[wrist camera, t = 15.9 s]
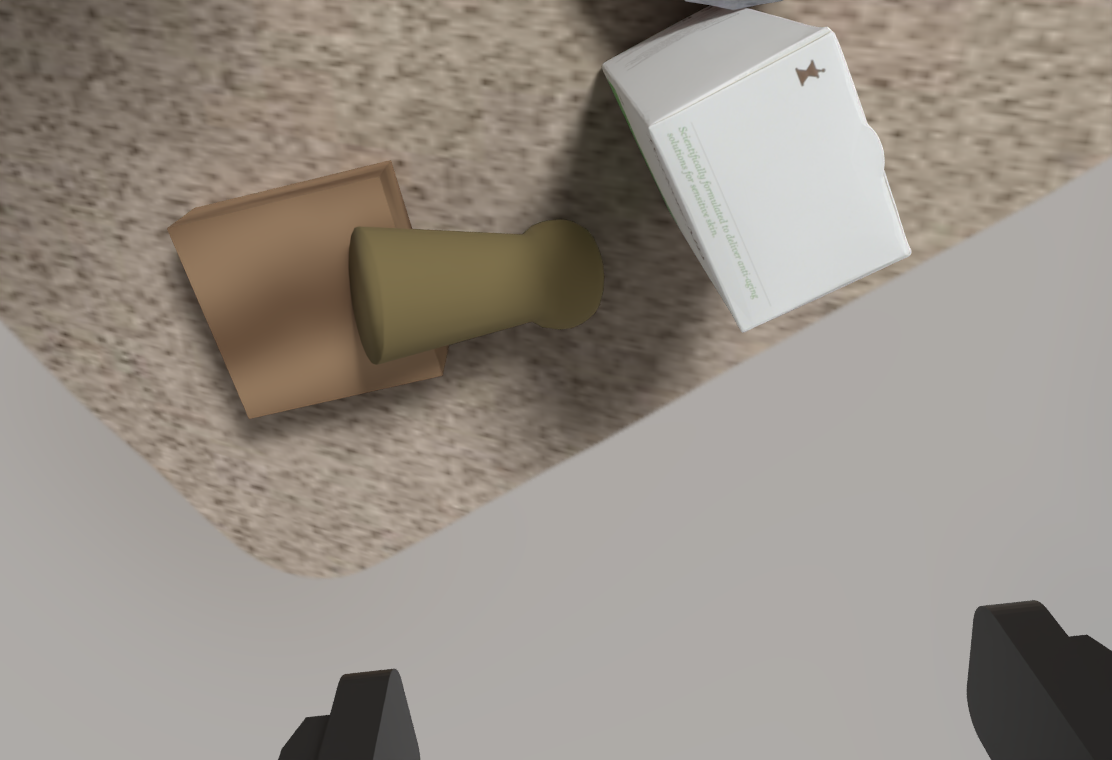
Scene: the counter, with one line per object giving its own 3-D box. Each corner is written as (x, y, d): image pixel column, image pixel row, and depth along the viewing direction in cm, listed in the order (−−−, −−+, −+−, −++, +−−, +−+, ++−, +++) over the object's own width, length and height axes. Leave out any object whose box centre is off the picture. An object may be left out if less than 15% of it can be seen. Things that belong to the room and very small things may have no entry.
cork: (392, 359, 36) (630, 325, 41) (368, 211, 36) (608, 193, 41) (363, 370, 42) (575, 339, 46) (342, 242, 42) (556, 223, 46)
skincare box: (598, 61, 41) (632, 117, 27) (731, -9, 40) (837, 10, 26) (671, 220, 45) (735, 343, 31) (796, 159, 44) (922, 257, 29)
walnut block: (197, 206, 44) (166, 228, 41) (392, 158, 44) (379, 176, 40) (270, 384, 48) (249, 418, 45) (449, 343, 48) (442, 375, 44)
